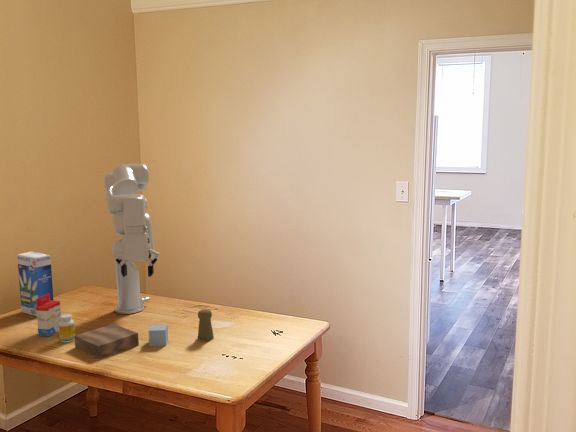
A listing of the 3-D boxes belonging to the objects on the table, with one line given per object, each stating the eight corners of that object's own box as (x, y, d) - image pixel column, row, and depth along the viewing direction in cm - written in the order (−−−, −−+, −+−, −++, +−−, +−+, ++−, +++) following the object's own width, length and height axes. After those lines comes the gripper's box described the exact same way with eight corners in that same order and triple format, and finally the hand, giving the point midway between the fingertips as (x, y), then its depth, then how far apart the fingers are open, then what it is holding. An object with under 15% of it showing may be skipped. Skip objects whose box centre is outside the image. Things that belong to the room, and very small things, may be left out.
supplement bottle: (59, 339, 215) (57, 314, 214) (74, 336, 217) (72, 312, 216) (60, 344, 210) (58, 319, 209) (76, 341, 213) (74, 316, 211)
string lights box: (21, 312, 247) (16, 254, 243) (36, 307, 253) (32, 251, 250) (40, 317, 240) (35, 257, 236) (55, 312, 247) (51, 254, 243)
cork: (200, 342, 210) (199, 313, 209) (195, 337, 216) (194, 309, 214) (216, 339, 213) (215, 311, 211) (210, 334, 218) (209, 306, 217)
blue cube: (168, 339, 214) (167, 324, 213) (166, 345, 208) (165, 330, 207) (151, 340, 213) (151, 325, 212) (149, 346, 207) (148, 330, 206)
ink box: (49, 337, 218) (46, 299, 215) (38, 336, 218) (34, 299, 216) (62, 329, 226) (59, 293, 224) (51, 328, 227) (48, 292, 224)
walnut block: (113, 336, 219) (113, 323, 218) (138, 346, 208) (138, 333, 208) (75, 348, 207) (74, 335, 206) (99, 359, 196) (98, 346, 196)
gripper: (161, 228, 211) (163, 273, 213) (115, 228, 212) (118, 273, 215) (155, 231, 204) (157, 278, 206) (108, 231, 205) (111, 278, 207)
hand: (137, 276), depth 210 cm, fingers open, 9 cm apart
